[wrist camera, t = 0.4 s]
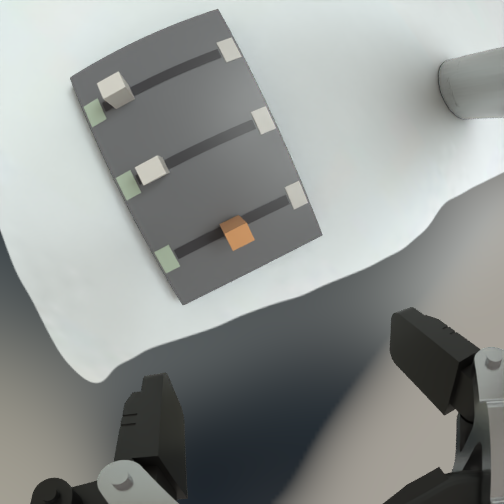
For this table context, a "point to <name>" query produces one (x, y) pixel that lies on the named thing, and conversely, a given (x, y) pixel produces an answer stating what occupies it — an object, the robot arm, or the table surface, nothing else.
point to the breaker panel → (195, 153)
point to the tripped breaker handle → (237, 232)
